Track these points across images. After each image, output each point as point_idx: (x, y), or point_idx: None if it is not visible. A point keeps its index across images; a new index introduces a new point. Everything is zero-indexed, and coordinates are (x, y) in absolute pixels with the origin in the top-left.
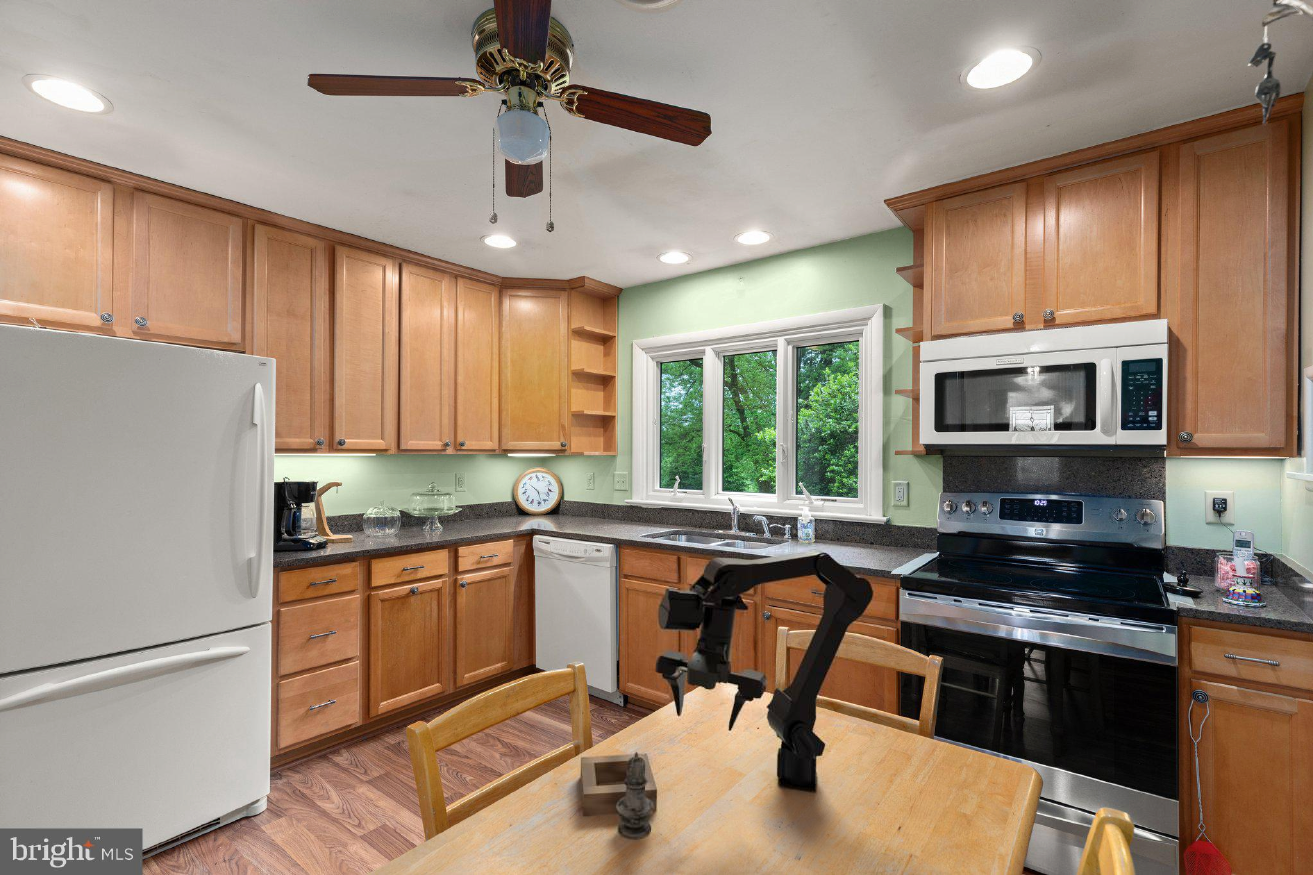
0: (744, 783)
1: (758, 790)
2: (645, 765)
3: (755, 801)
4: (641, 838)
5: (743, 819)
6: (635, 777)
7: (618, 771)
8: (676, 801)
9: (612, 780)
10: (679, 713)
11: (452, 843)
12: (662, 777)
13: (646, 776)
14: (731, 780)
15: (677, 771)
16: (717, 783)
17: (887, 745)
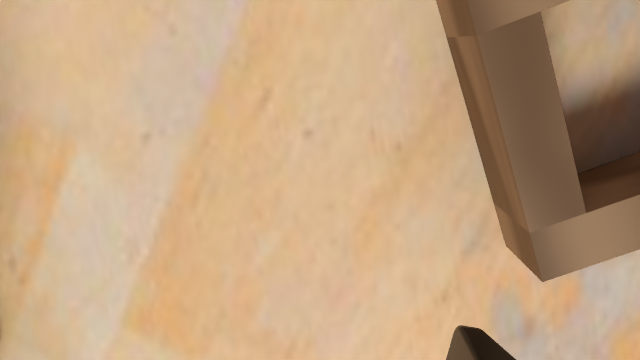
0: (116, 262)
1: (54, 228)
2: (538, 177)
3: (50, 149)
4: None
5: (71, 9)
6: None
7: (636, 170)
8: (360, 73)
9: (636, 155)
10: (466, 338)
11: None
12: (438, 228)
13: (524, 77)
14: (169, 271)
15: (385, 282)
16: (219, 238)
17: None
